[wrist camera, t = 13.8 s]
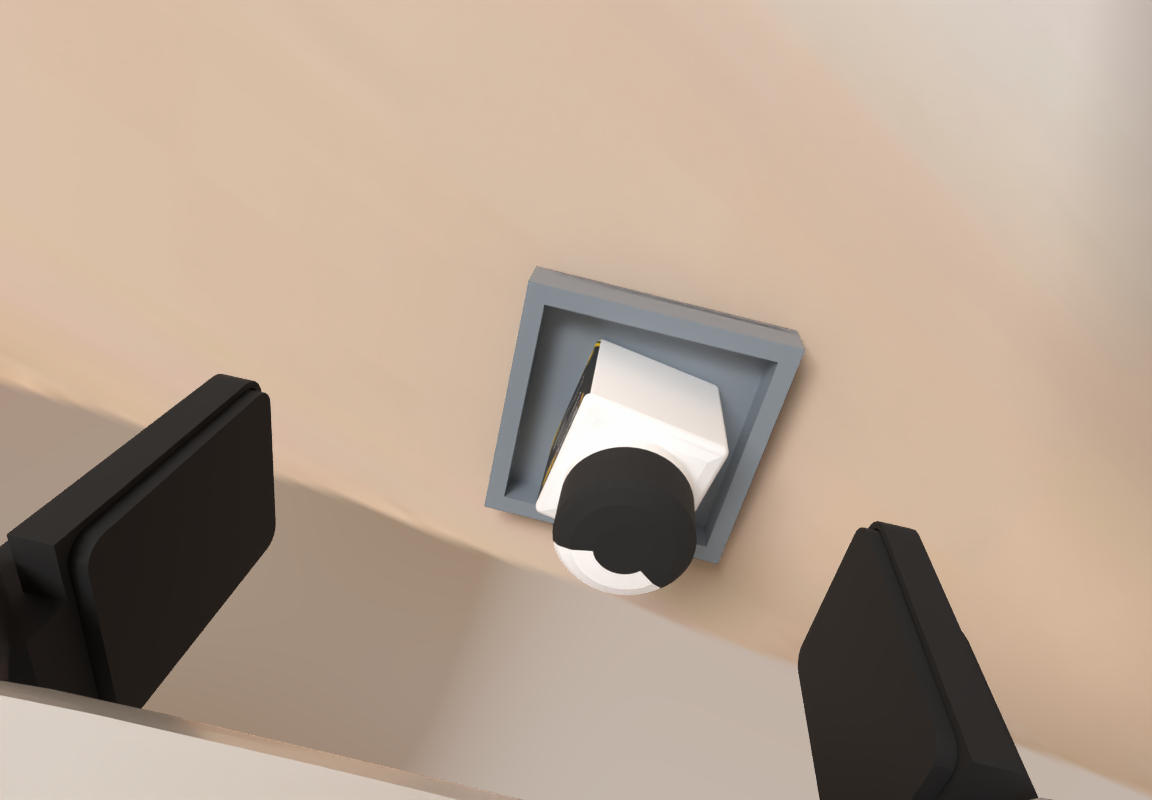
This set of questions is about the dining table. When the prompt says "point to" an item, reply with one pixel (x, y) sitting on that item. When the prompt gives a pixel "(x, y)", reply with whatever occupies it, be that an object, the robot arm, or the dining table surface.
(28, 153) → the dining table surface
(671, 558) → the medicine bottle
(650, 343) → the tray
